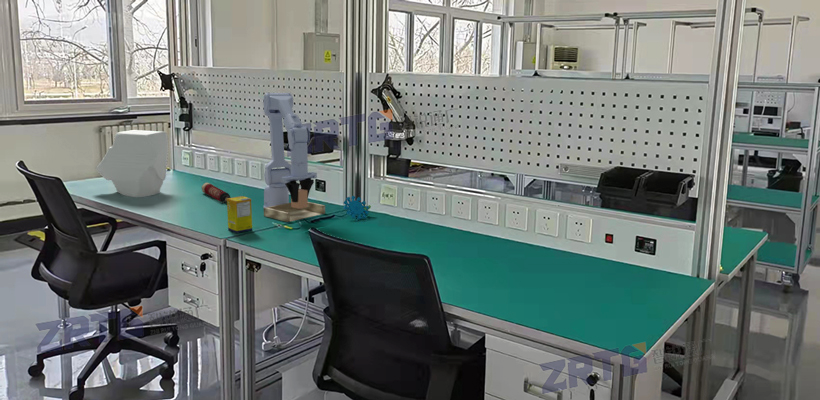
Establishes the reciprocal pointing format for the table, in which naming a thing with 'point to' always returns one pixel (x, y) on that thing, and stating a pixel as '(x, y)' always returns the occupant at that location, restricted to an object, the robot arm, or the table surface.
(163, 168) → the white low-poly rock
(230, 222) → the supplement box
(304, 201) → the block
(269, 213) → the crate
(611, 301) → the table surface
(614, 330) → the table surface
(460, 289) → the table surface
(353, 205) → the gear
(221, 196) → the red cylinder
